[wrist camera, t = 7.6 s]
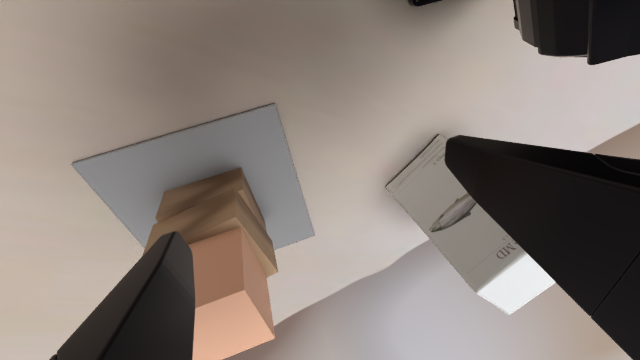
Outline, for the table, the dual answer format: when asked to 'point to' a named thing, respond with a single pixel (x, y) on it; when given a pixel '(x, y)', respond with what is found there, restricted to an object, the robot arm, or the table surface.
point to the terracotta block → (229, 297)
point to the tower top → (219, 226)
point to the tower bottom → (208, 194)
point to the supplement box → (467, 232)
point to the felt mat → (204, 172)
